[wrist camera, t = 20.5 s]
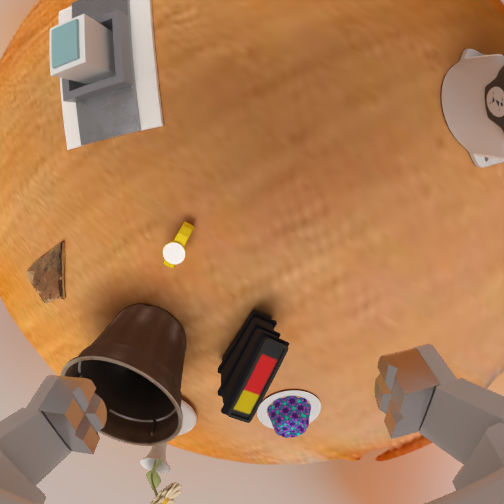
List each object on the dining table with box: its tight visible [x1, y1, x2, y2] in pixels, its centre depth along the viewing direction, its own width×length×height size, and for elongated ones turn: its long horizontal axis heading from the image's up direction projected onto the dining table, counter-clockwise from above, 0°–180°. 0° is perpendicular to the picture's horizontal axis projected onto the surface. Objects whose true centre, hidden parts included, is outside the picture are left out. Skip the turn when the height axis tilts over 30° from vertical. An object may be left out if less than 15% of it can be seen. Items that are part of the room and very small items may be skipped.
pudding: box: [257, 390, 321, 438], centre depth 52 cm, size 12×12×5 cm
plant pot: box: [61, 304, 186, 446], centre depth 40 cm, size 16×16×16 cm
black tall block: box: [218, 310, 289, 423], centre depth 43 cm, size 4×13×15 cm, turn 151°
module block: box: [50, 14, 116, 84], centre depth 27 cm, size 4×6×10 cm
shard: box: [27, 241, 66, 304], centre depth 44 cm, size 11×8×2 cm
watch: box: [163, 222, 194, 269], centre depth 40 cm, size 6×3×6 cm, turn 151°
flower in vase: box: [140, 400, 197, 504], centre depth 42 cm, size 13×11×25 cm
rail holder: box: [59, 0, 164, 150], centre depth 31 cm, size 14×22×5 cm, turn 7°
